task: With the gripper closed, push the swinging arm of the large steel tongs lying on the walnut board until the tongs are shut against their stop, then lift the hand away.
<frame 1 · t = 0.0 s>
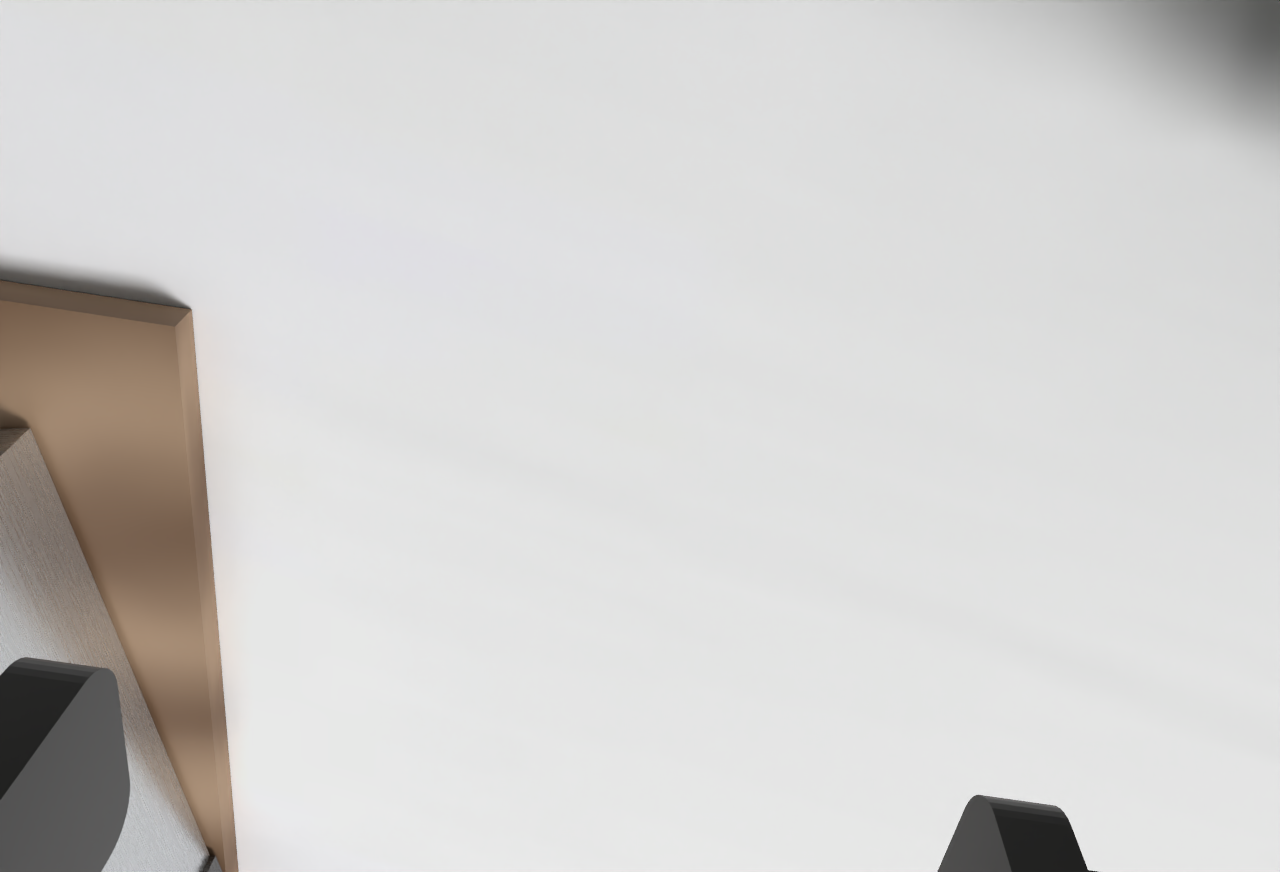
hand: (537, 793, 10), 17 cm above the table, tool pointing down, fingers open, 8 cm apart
walnut board: (15, 651, 33), on the table
tongs swing arm: (88, 771, 31), point 4 cm above the table, hinge at 12.0°
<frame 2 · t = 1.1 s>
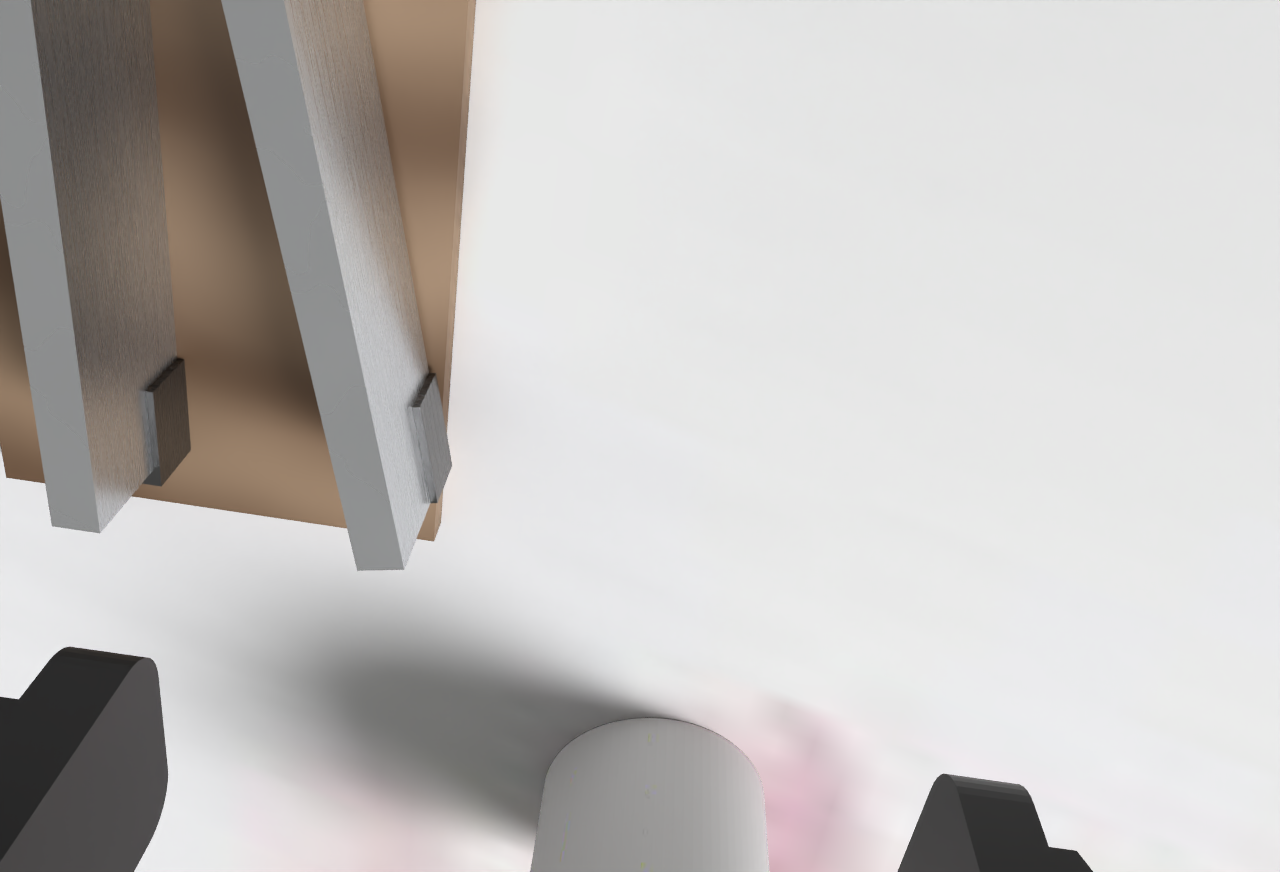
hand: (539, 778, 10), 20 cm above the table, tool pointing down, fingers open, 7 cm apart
walnut board: (212, 64, 27), on the table
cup: (653, 794, 39), on the table
tongs swing arm: (328, 144, 24), point 4 cm above the table, hinge at 12.0°
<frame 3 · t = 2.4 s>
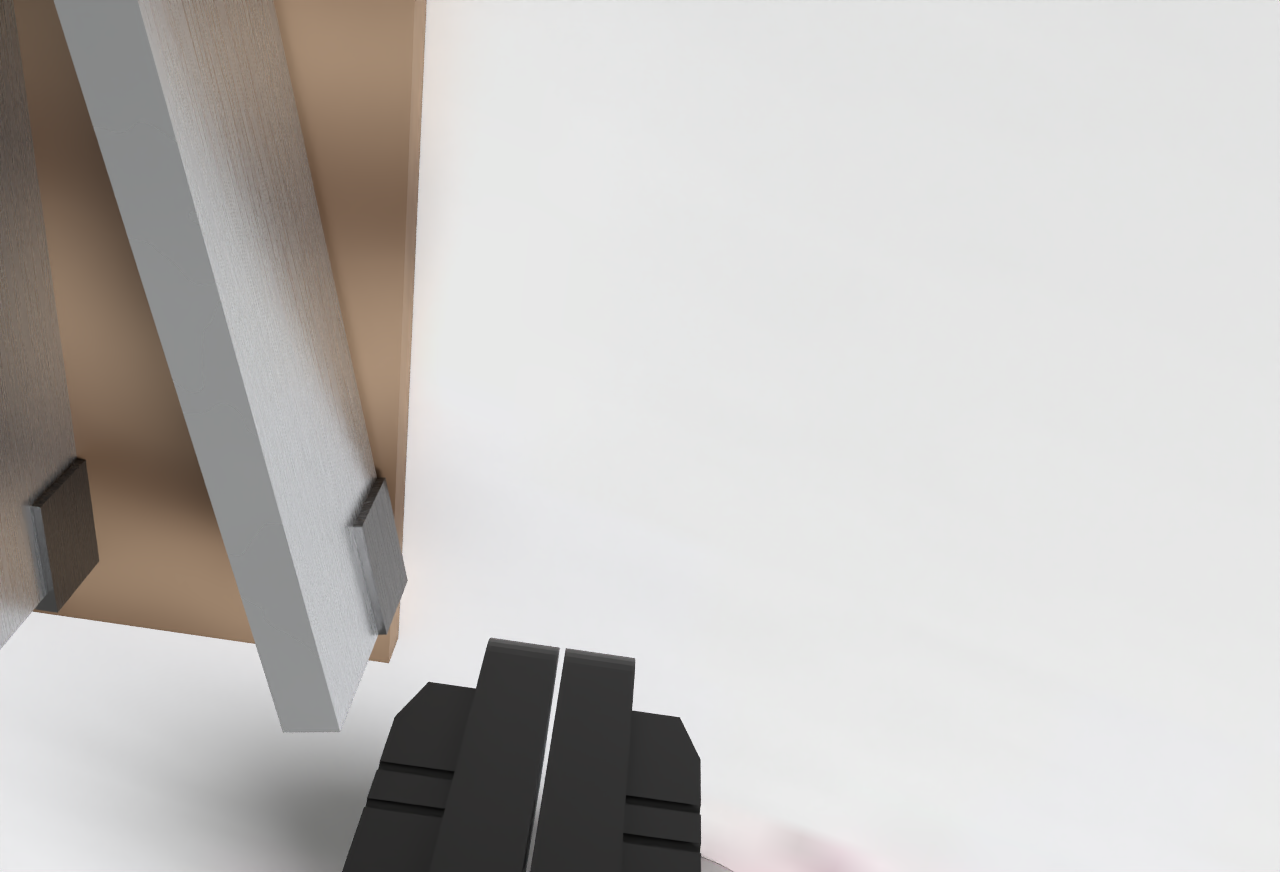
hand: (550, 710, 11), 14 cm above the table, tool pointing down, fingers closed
walnut board: (104, 113, 22), on the table
tongs swing arm: (235, 222, 19), point 4 cm above the table, hinge at 12.0°
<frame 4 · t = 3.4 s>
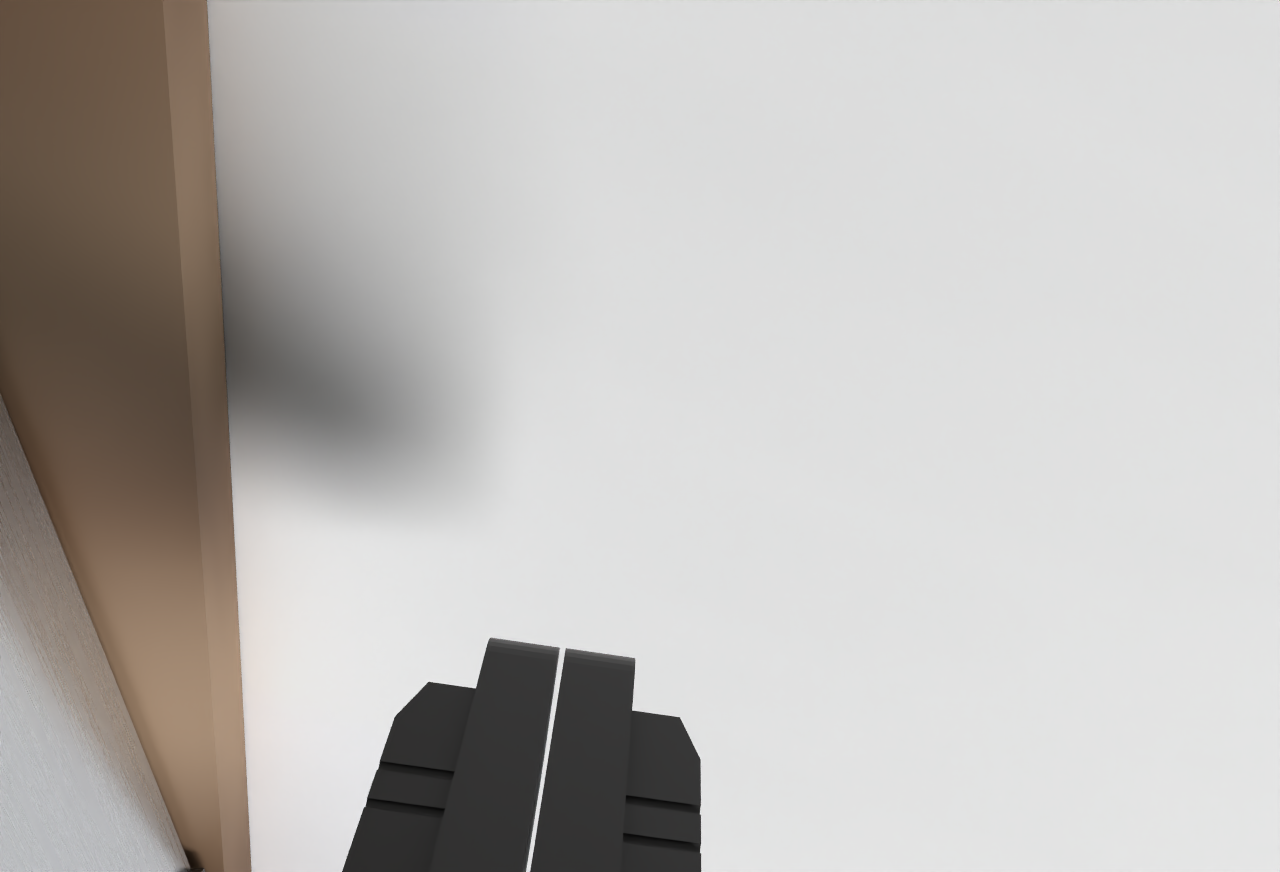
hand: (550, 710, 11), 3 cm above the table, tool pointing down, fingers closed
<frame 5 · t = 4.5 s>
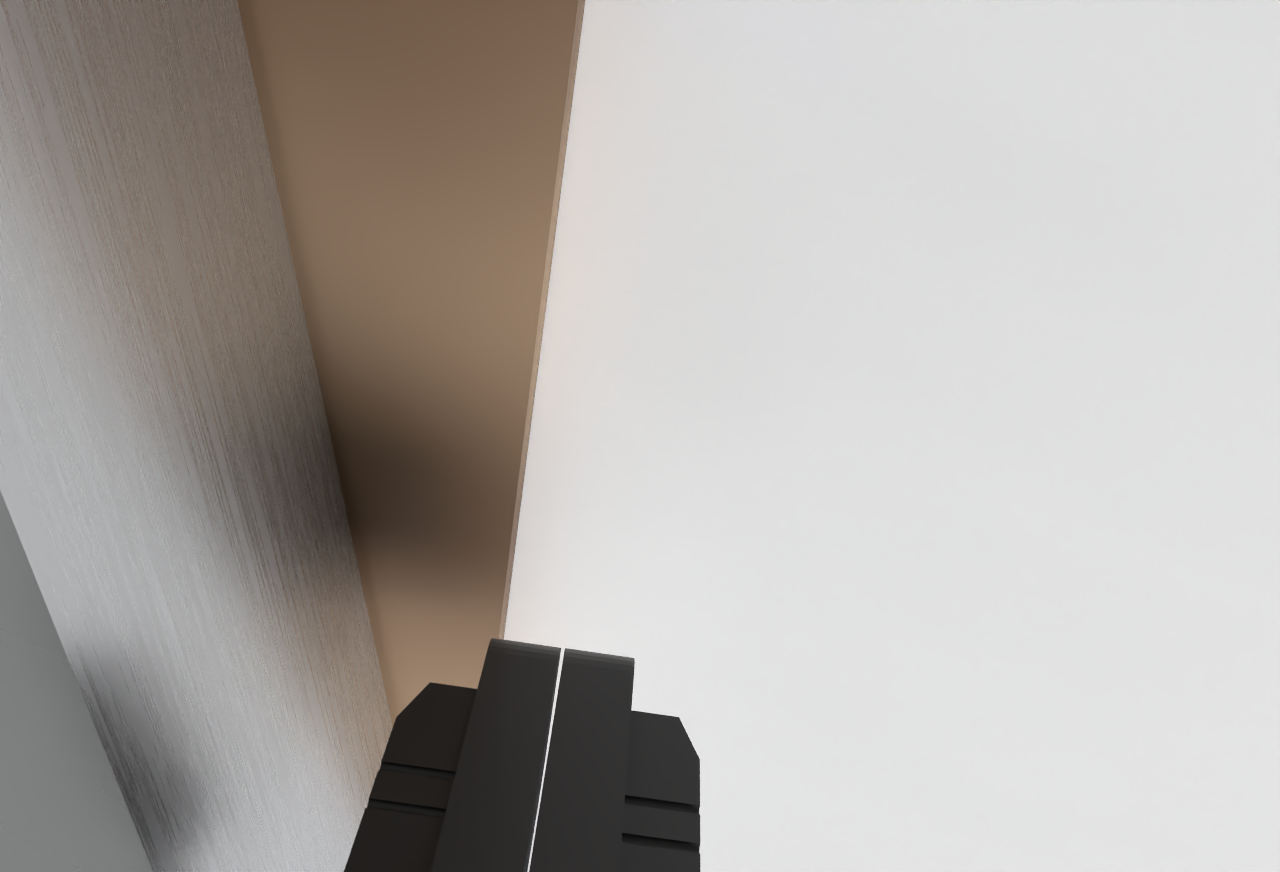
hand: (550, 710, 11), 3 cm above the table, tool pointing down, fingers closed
tongs swing arm: (208, 650, 10), point 4 cm above the table, hinge at 11.7°, touching gripper
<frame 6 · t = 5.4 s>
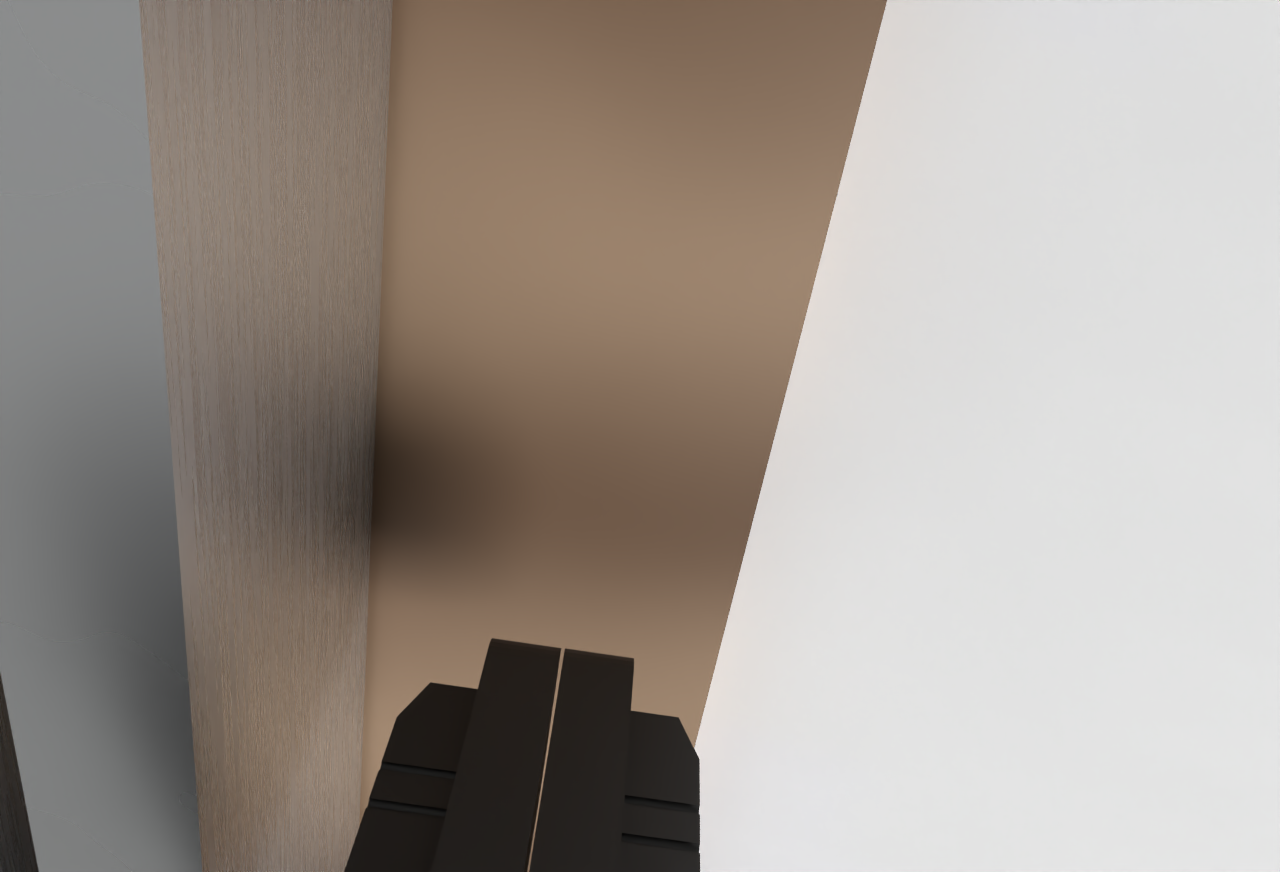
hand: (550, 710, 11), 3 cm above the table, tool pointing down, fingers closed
walnut board: (217, 350, 13), on the table
tongs swing arm: (241, 644, 10), point 4 cm above the table, hinge at -0.2°, touching gripper
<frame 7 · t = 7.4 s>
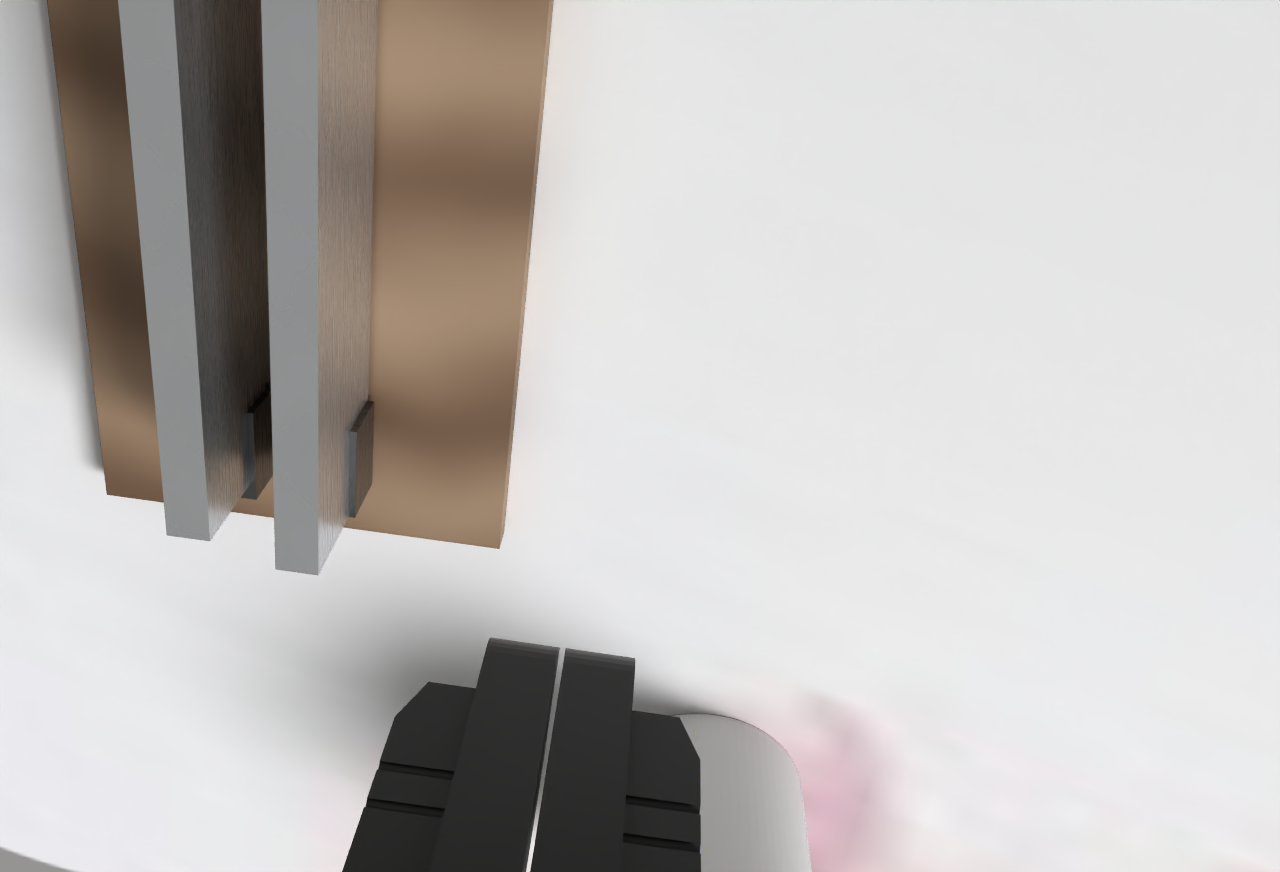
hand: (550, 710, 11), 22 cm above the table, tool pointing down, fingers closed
walnut board: (309, 118, 30), on the table
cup: (697, 787, 42), on the table
tongs swing arm: (324, 199, 27), point 4 cm above the table, hinge at -0.3°
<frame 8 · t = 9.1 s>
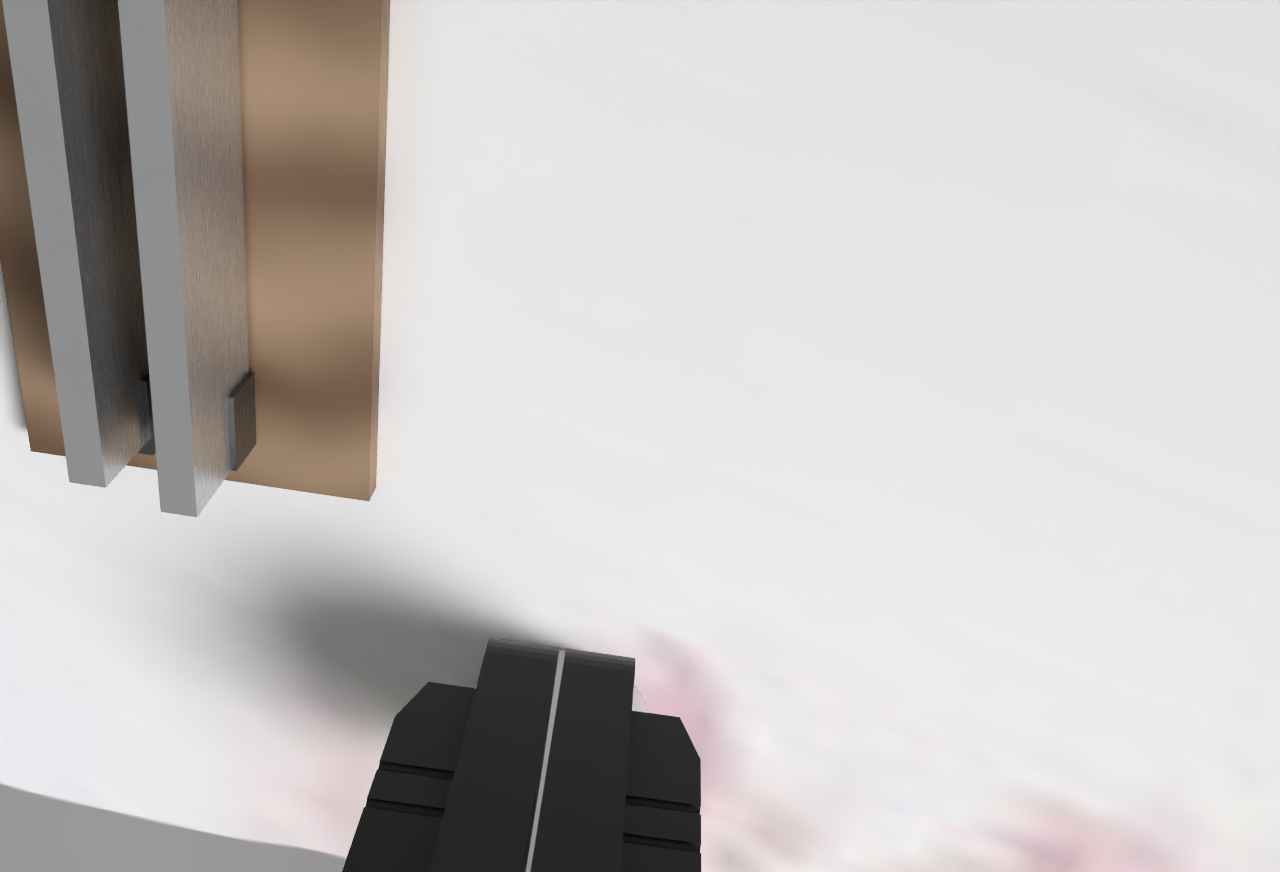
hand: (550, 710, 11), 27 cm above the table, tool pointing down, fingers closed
walnut board: (191, 133, 35), on the table
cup: (559, 716, 48), on the table
tongs swing arm: (193, 202, 33), point 4 cm above the table, hinge at -0.3°
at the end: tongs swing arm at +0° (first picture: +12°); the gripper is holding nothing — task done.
